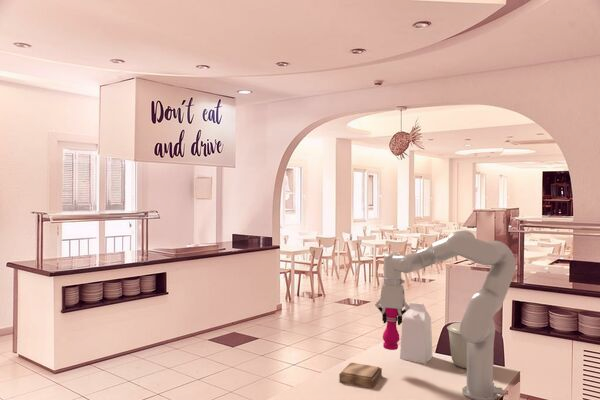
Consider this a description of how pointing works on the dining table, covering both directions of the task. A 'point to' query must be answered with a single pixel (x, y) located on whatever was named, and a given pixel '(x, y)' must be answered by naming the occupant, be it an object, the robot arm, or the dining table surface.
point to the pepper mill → (391, 330)
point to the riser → (360, 375)
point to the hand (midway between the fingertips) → (392, 323)
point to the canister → (457, 345)
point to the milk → (416, 334)
